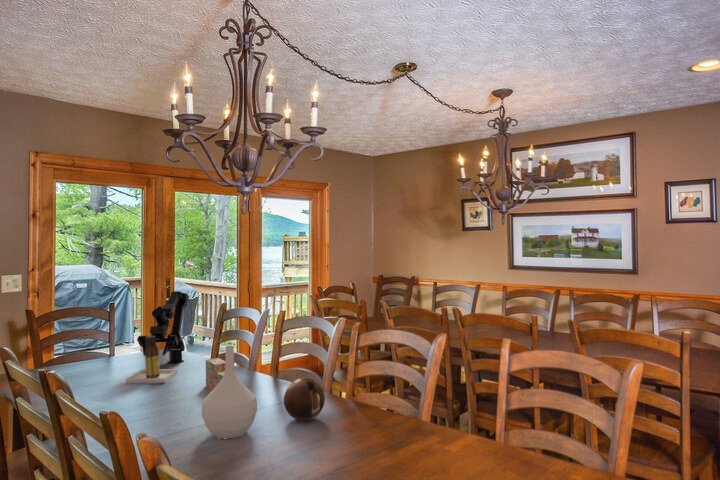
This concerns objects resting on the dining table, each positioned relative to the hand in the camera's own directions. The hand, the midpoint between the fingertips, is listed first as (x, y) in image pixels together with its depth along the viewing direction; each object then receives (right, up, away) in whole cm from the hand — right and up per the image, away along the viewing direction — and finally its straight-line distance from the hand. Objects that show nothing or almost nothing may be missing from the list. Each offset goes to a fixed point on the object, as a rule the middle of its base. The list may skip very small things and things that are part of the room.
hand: (153, 355), depth 242 cm
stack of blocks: (+39, -11, -22) cm, 46 cm away
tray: (0, -11, -1) cm, 11 cm away
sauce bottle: (0, -10, -1) cm, 11 cm away
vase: (+57, -10, -73) cm, 93 cm away
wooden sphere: (+80, -10, -59) cm, 101 cm away
